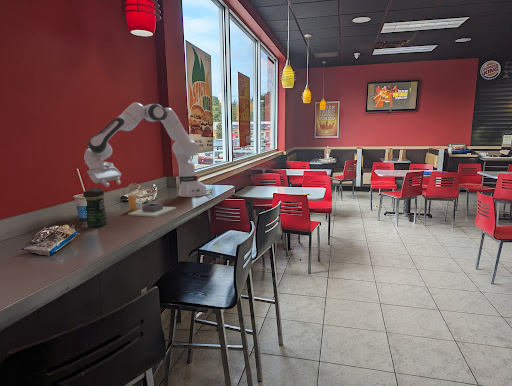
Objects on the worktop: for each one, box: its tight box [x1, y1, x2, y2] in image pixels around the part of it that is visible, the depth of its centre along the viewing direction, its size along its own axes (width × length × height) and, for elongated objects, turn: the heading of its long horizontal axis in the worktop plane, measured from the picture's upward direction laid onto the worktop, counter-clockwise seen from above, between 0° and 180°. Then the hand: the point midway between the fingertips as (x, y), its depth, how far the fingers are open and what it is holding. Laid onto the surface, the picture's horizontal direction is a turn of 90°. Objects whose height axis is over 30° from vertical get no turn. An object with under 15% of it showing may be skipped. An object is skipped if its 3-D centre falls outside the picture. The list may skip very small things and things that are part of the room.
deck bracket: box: [127, 202, 177, 218], centre depth 192 cm, size 18×20×4 cm
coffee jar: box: [82, 187, 108, 229], centre depth 165 cm, size 10×8×19 cm
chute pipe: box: [127, 194, 138, 212], centre depth 197 cm, size 4×4×9 cm
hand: (114, 184), depth 199 cm, fingers open, 8 cm apart
